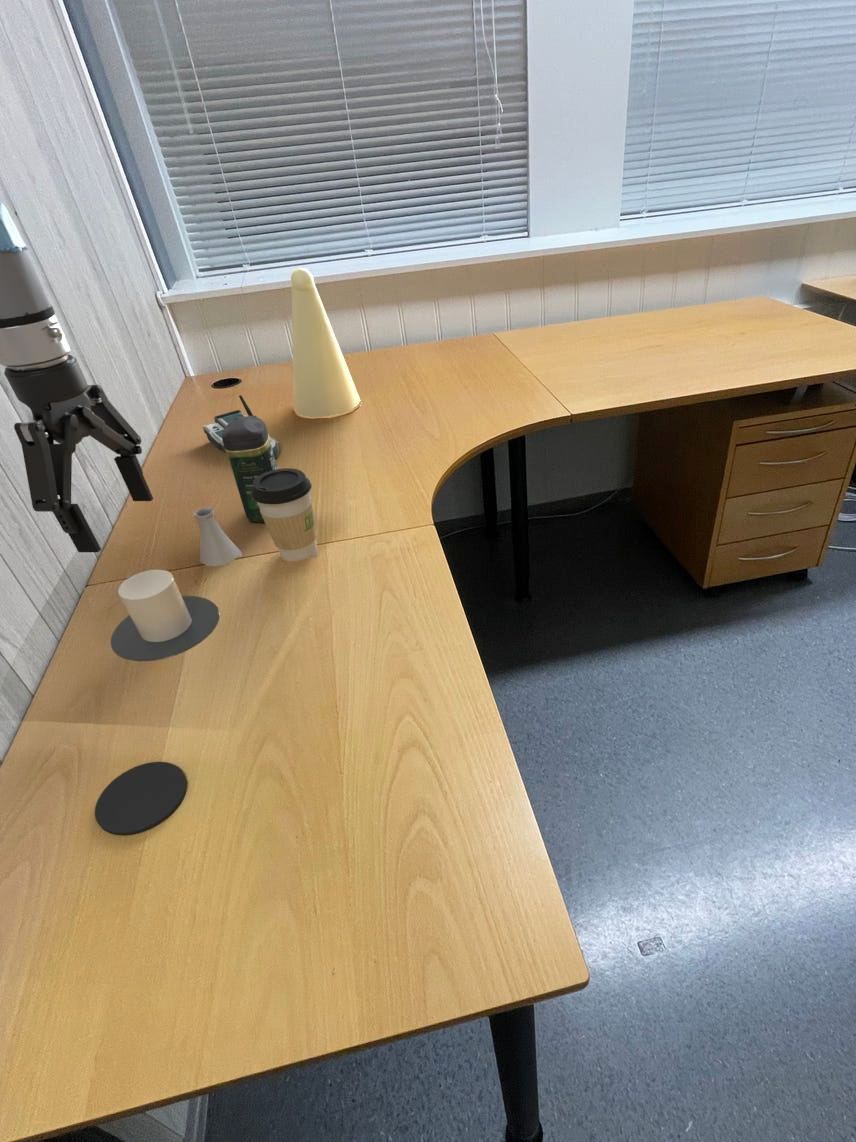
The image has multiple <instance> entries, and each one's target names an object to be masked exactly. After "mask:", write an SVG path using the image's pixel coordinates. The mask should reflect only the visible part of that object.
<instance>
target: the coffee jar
mask: <svg viewBox="0 0 856 1142" xmlns="http://www.w3.org/2000/svg"><path fill="white" fill-rule="evenodd" d="M269 436H270V434H269V432H268V428H267V424H266V422H265V421H264V419H262V418H260V417H258V416H256V415H253V416H249V415H246V416H244V417H235V418H234V420H232V421H231V422H230V423H229V424H228V425H227V426H226V427H225V429H224V431H223V433H222V440H223V444H224V448H225V450H224V451H225V453H226V456H227V459H228V461H229V464H230V467H231V470H232V473H233V476H234V480H235V481H234V482H235V484H236V487H237V490H238V494H239V497H240V501H241V505H242V508H243V511H244V514H245V518H246V519H247V520H248V521H249V522H254V523H261V524H262V523H263V524H264V523H265V522H264V519H263V517H262V515H261V513H260V508H259V506H258V503H257V502H256V501H255V500H254V499H253V498H252V493H251V491H252V488H253V481H254V480H255V478H257V477H258V476H259V475H261V474H263V473H265V472H268V471H271V470H276V469H278V466H277V462H276V459H275V458H274V454H273V450H272V446H271V442H270V438H269Z"/></svg>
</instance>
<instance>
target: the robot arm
mask: <svg viewBox="0 0 856 1142" xmlns="http://www.w3.org/2000/svg"><path fill="white" fill-rule="evenodd" d="M42 282H43V281H42V280H41V278H40V276H39V273H38V270H37V269H36V266H35V264H34V262H33V260H32V257H31V255H30V252H29V248H28V246H27V244H26V242H25V240H24V239H23V238H22V236H21V234H20V233H19V230H18V229H17V226H16V224H15V222H14V221H13V219H12V217H11V215H10V213H9V211H8V208H7V207H6V206H5V204H4V203H3V201H1V200H0V365H1V366H3V367H5V369H4V372H3V374H4V376H5V378H6V380H7V381H8V384H9V385H10V387H11V390H12V391H13V393H14V395H15V397H16V398H17V400H18V402H20V403H22V404H24V405H25V406H26V407H28V408H29V409H30V411H31V416H32V420H30V421H27V422H15V424H14V425H13V429H14V431H15V433H16V436H17V439H18V440H19V442H20V445H21V449H22V455H23V461H24V466H25V471H26V472H25V473H26V478H27V484H28V489H29V494H30V500H31V505H32V509H33V510H34V511H35V512H38V513H39V512H42V513H43V512H44V513H45V512H50V513H52V514H53V515H54V517H55V520H56V521H57V522H58V524H59V526H60V527H61V530H62V531H63V532H64V534H68V536H69V538H70V540H71V541H72V543H73V545H74V547H75V549H76V551H77V552H78V553H99V552H100V551H102V548H101V546H100V543H99V542H98V540H97V538H96V536H95V534H94V533H93V530H92V528H91V526H90V525H89V523H88V521H87V519H86V517H85V515H84V514H83V512H82V509H81V507H80V506H79V504H78V503H72V477H73V476H72V472H73V471H72V470H73V467H72V466H73V454H74V453H75V452H76V450H77V447H76V446H77V445H78V444H79V443H81V442H82V441H83V439H84V438H87V437H89V436H90V437H91V438H93V440H95V441H97V442H98V443H100V444H102V445H103V446H104V447H106V448H108V449H109V450H110V451H112V452H113V453H115V454H116V455H117V456H115V457H114V458H113V460H114V462H115V464H116V467H117V469H118V471H119V473H120V475H121V477H122V480H123V482H124V484H125V486H126V488H127V491H128V492H129V495H130V497H131V499H132V502H152V501H153V500H154V497H153V494H152V492H151V490H150V488H149V485H148V483H147V480H146V478H145V476H144V471H143V468H142V466H141V463H140V461H139V459H138V456H137V455H141V454H142V452H143V450H142V446H141V444H142V438H141V436H140V435H139V434H138V433H137V431H136V430H135V429H134V428H133V427H132V426H131V424H129V422H128V421H127V420H126V419H125V417H123V415H122V414H121V413H120V412H119V410H118V409H117V408H116V407H115V406H114V404H112V402H111V401H110V400H109V398H108V397H107V395H106V393H105V391H104V389H103V387H102V386H101V385H100V384H88V381H87V379H86V377H85V375H84V373H83V371H82V368H81V366H80V364H79V362H78V360H77V358H76V357H74V356H73V355H71V354H70V353H71V350H72V347H71V346H70V343H69V341H68V338H67V336H66V333H65V332H64V330H63V328H62V325H61V324H60V322H59V320H58V317H57V315H56V313H55V312H56V311H55V309H54V307H53V305H52V303H51V301H50V299H49V296H48V294H47V292H46V290H45V287H44V285H43V283H42ZM55 442H56V443H55ZM118 455H119V456H118Z"/></svg>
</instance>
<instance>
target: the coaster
mask: <svg viewBox="0 0 856 1142" xmlns="http://www.w3.org/2000/svg"><path fill="white" fill-rule="evenodd" d="M187 788H188V780H187V777H186V774H185V773H184V771H183V770H182V769H181V768H180V767H179V766H177V765H176V764H174V763H171V762H167V761H151V762H146V763H142V764H139V765H137V766H133V767H131V768H130V769H127V770H126V771H124V772H122V773H121V774H119V775H118V776H117V777H115V778H114V779H113V780H111V782H110V783H108V785H107V786H105V788H104V790H103V791H102V792H101V793H100V795H99V797H98V799H97V801H96V804H95V806H94V818H95V821H96V823H97V824H98V826H99V827H100V828H101V829H102V830H103V831H104V832H106V833H108V834H111V835H115V836H133V835H137V834H140V833H143V832H146V831H148V830H151V829H153V828H155V827H156V826H158V825H160V824H162V823H164V821H165V820H167V819H168V818H169V817H171V816H172V815H173V814H174V813H175V811H177V809H178V808H179V807H180V805H181V804H182V802H183V800H184V798H185V796H186V793H187Z"/></svg>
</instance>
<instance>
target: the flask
mask: <svg viewBox="0 0 856 1142" xmlns="http://www.w3.org/2000/svg"><path fill="white" fill-rule="evenodd" d="M193 517H194V518H195V519H196V520H197V523H198V527H199V532H200V550H199V563H201V564H203V565H205V566H206V567H221V566H225V565H227V564H229V563H231V562H232V561H234V560H236V559H237V558H238V557H243V555H244V554H243V552H242V551H241V550H240V549H239V548H238V546H237V545H236V544H235V543H234V542H233V541H232V540H231V539H230V538H229V537H228V536H227V534H226V532H224V530H223V529H222V528H221V526H220V525H219V523H218V521H217V520H216V517H215V509H214V508H211V507H202V508H199V509H197V510H196V511H194V513H193Z"/></svg>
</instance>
